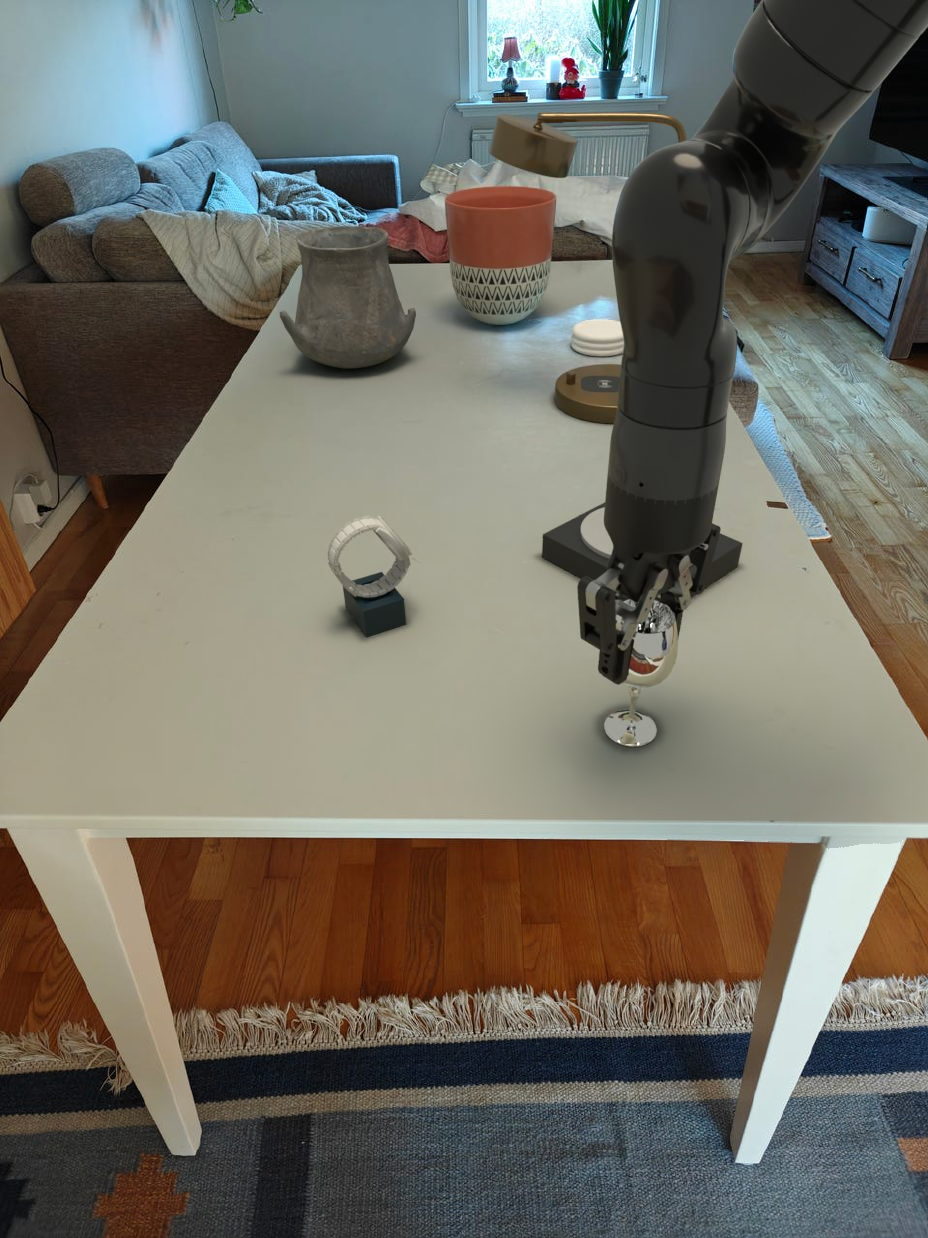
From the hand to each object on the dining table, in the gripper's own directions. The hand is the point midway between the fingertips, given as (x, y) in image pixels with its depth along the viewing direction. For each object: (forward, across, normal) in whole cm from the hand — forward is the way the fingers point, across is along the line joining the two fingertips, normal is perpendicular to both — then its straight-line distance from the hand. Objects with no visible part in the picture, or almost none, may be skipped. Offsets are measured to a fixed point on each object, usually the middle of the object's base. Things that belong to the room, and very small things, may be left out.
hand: (638, 659), depth 68 cm
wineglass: (+8, 0, 0) cm, 8 cm away
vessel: (+8, +37, +91) cm, 98 cm away
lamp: (+8, +50, +51) cm, 72 cm away
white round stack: (+8, +70, +64) cm, 95 cm away
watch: (+8, -6, +28) cm, 30 cm away
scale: (+8, +21, +16) cm, 27 cm away
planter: (+8, +68, +87) cm, 111 cm away
